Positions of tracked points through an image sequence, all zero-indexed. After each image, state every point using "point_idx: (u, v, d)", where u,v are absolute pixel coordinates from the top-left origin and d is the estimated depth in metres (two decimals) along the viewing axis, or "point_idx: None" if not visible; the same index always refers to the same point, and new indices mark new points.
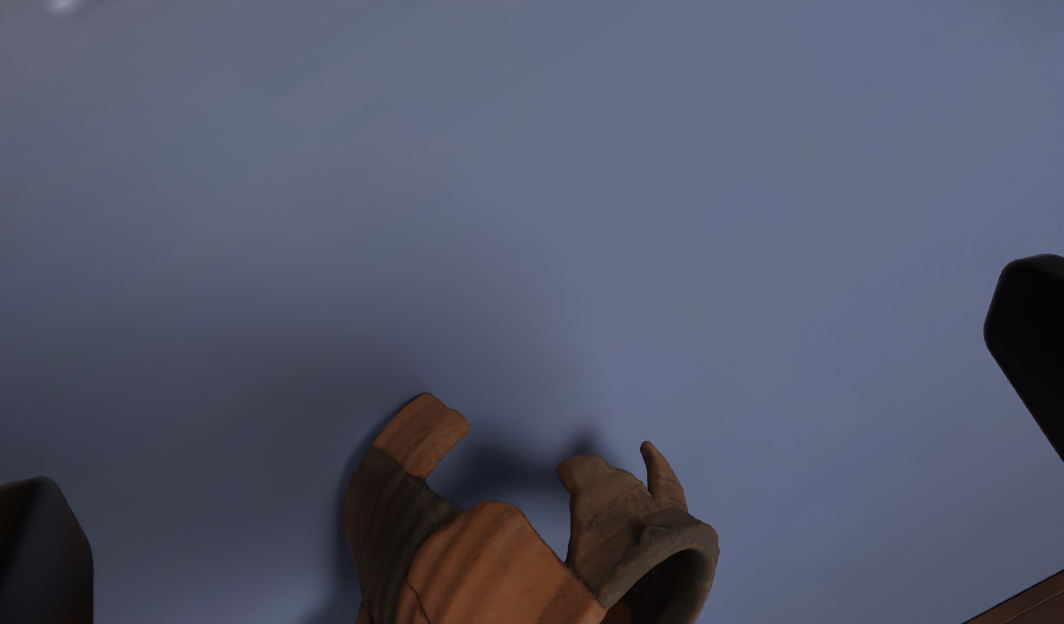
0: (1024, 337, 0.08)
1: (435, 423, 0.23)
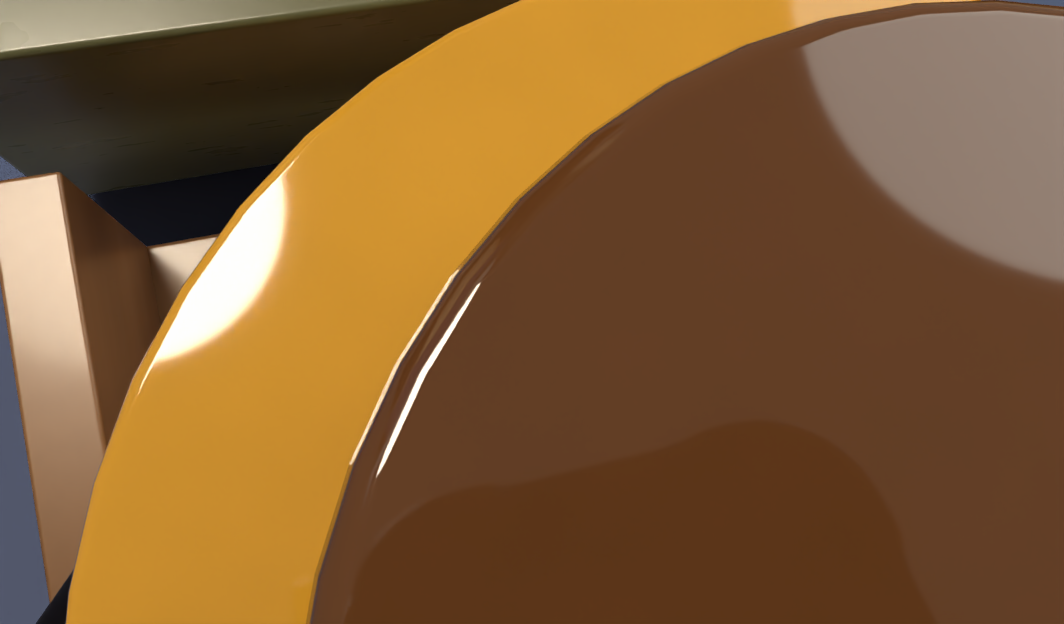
0: None
1: None
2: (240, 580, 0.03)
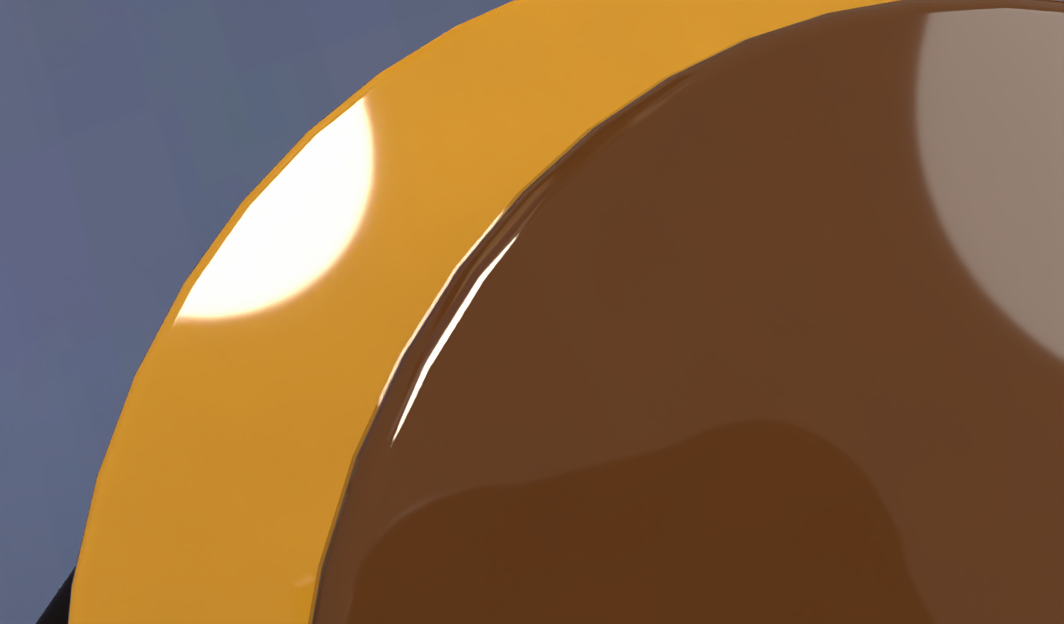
0: None
1: None
2: (240, 575, 0.03)
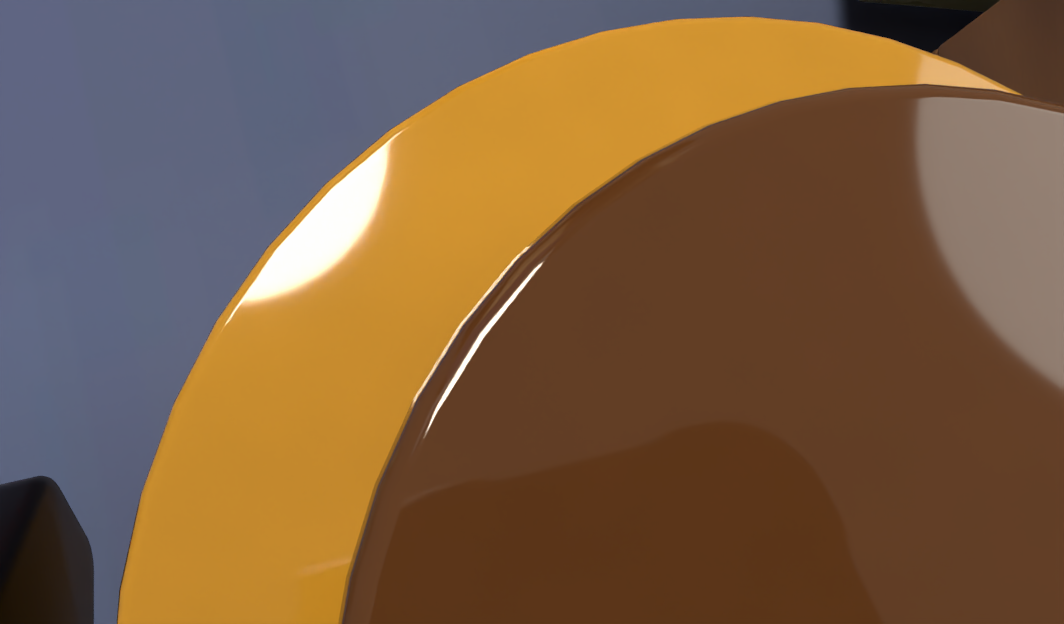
0: None
1: None
2: (270, 580, 0.04)
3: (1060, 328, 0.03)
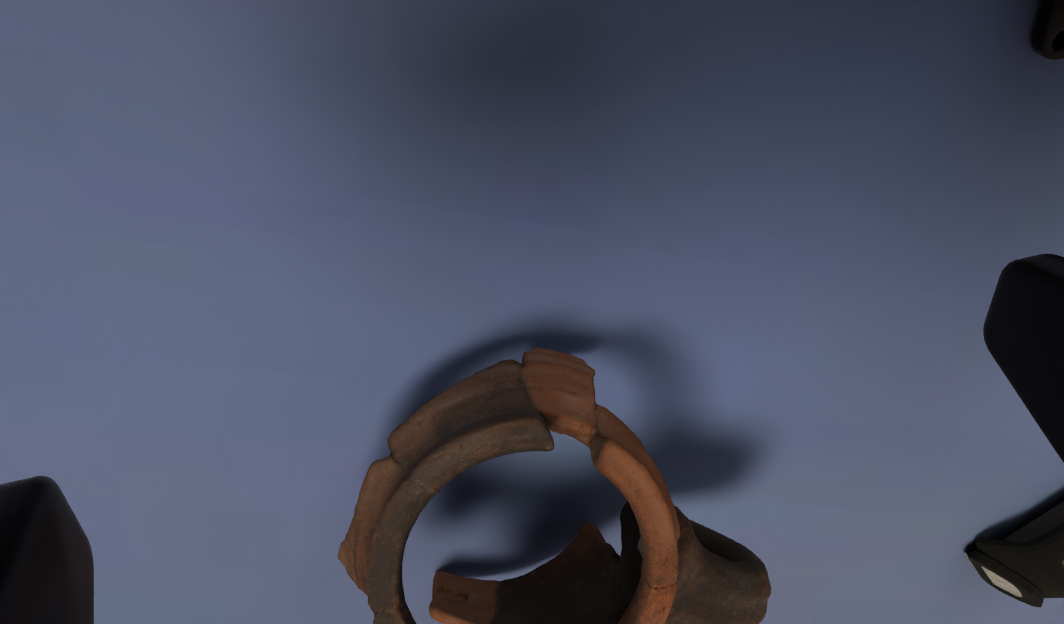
0: (1024, 337, 0.08)
1: None
2: None
3: None
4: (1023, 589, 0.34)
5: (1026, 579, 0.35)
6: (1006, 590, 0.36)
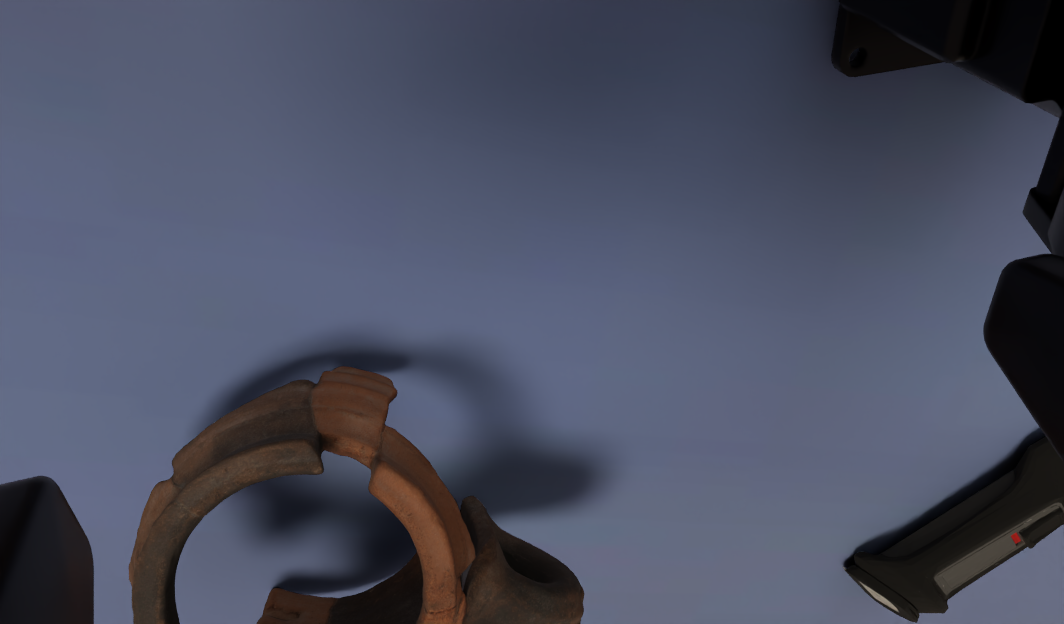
0: (1024, 337, 0.08)
1: None
2: None
3: None
4: (896, 604, 0.34)
5: (899, 595, 0.34)
6: (886, 604, 0.36)
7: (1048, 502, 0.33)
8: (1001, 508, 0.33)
